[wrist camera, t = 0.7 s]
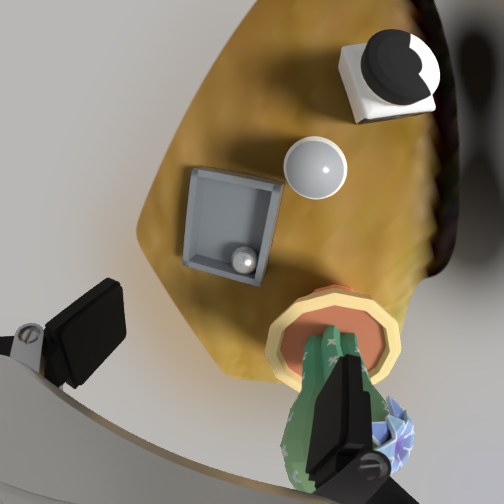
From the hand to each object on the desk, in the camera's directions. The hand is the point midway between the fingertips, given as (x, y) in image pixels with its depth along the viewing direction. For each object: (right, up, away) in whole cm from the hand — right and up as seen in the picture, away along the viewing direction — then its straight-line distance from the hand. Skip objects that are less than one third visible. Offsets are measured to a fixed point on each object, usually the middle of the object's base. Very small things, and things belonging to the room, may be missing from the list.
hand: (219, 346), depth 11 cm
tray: (-1, +7, +23) cm, 24 cm away
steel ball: (+1, +3, +24) cm, 24 cm away
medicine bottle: (+15, +21, +14) cm, 30 cm away
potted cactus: (+12, -4, +25) cm, 28 cm away
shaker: (+8, +13, +19) cm, 24 cm away
